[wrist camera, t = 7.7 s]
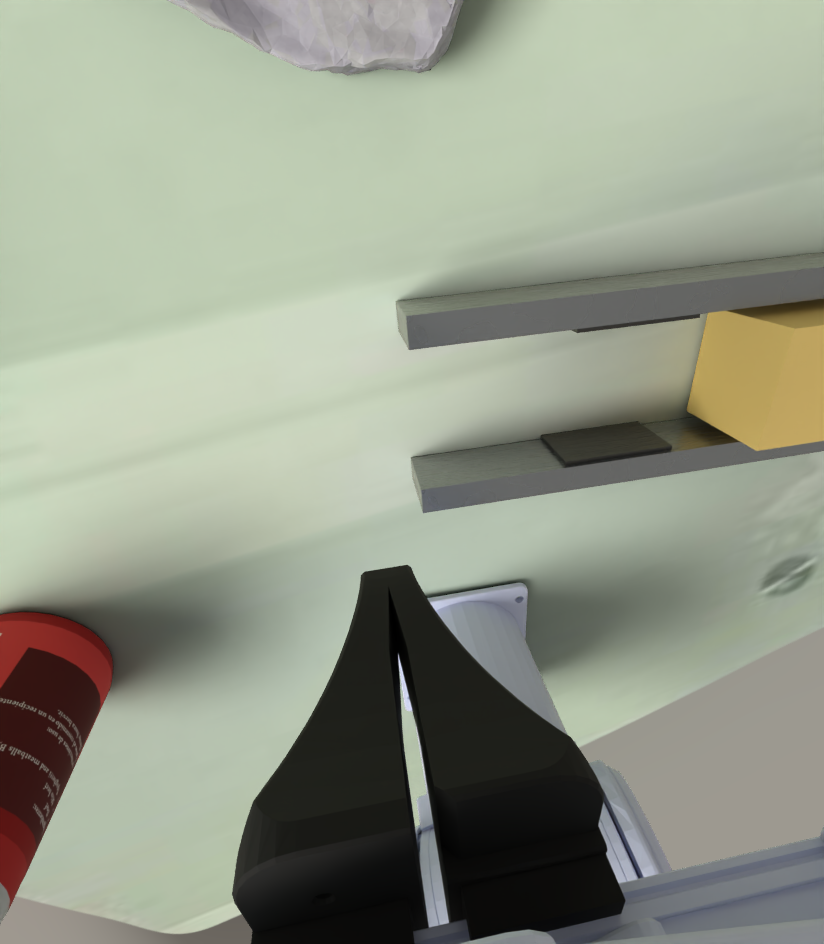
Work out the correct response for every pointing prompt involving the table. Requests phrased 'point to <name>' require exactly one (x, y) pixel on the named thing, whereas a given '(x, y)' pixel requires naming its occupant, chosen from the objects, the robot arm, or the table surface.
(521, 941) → the robot arm
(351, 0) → the stone block
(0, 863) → the canned food
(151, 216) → the table surface
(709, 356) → the block
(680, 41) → the table surface
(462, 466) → the chute
